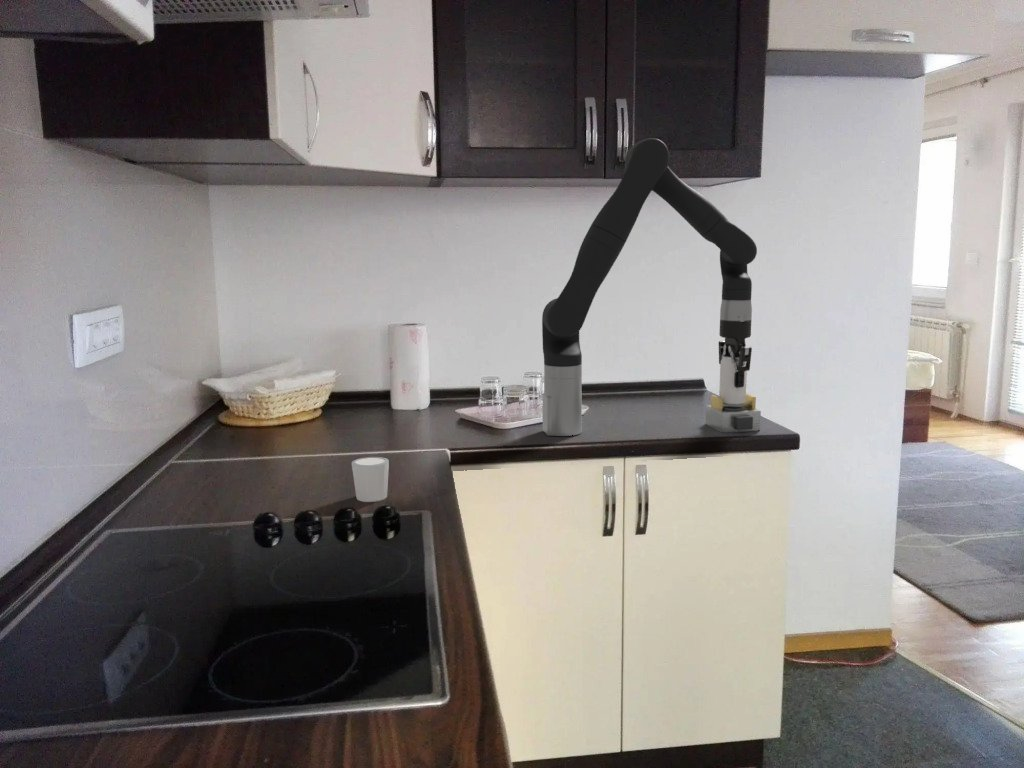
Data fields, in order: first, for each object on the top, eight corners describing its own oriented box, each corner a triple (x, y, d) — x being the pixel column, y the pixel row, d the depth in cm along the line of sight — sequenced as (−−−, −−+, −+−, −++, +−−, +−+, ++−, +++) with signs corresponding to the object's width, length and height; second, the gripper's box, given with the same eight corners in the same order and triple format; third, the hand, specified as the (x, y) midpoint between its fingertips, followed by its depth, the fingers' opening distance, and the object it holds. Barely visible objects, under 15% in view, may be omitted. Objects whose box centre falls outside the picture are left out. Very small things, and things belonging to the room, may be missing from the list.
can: (748, 405, 199) (750, 357, 197) (722, 405, 199) (724, 357, 197) (741, 400, 205) (743, 353, 203) (716, 400, 205) (718, 353, 203)
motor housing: (725, 434, 195) (726, 402, 194) (705, 423, 207) (706, 393, 206) (763, 432, 197) (765, 400, 196) (741, 422, 209) (742, 391, 207)
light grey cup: (379, 489, 155) (378, 454, 154) (397, 498, 149) (395, 461, 148) (347, 496, 151) (345, 460, 150) (363, 505, 145) (361, 468, 144)
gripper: (709, 316, 205) (707, 380, 207) (734, 321, 191) (731, 390, 193) (737, 315, 206) (734, 379, 209) (763, 320, 192) (760, 389, 195)
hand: (733, 384), depth 201 cm, fingers closed on can, 6 cm apart
